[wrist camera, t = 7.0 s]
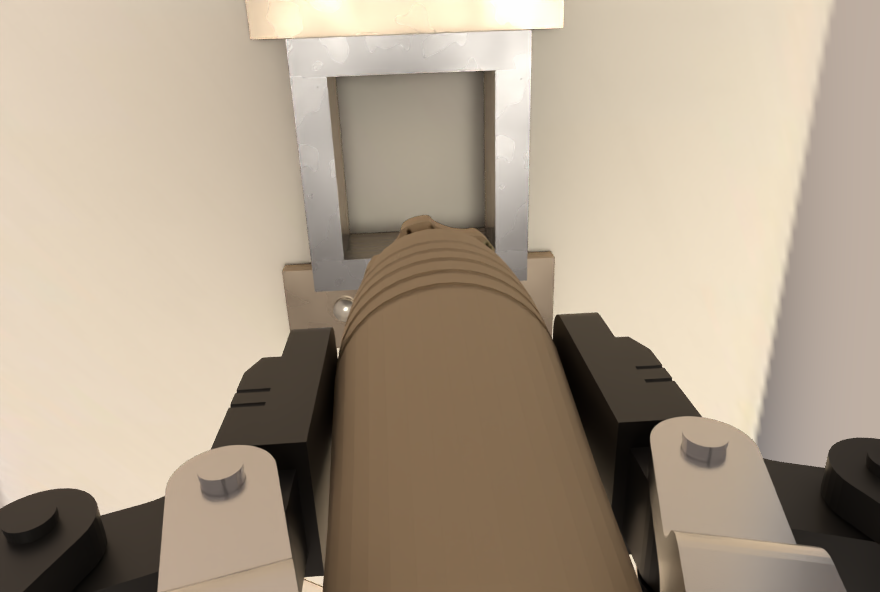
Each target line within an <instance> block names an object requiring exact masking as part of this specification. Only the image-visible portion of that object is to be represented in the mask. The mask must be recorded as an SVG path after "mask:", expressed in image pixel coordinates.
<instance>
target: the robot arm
mask: <svg viewBox="0 0 880 592" xmlns="http://www.w3.org/2000/svg"><path fill="white" fill-rule="evenodd" d="M553 342H554V344H555V346H556V348H557V351H558V354H559V357H560V360H561V363H562V366H563V369H564V372H565V375H566V378H567V381H568V384H569V387H570V390H571V393H572V396H573V399H574V402H575V404H576V407H577V410H578V413H579V416H580V419H581V422H582V425H583V428H584V431H585V434H586V437H587V440H588V443H589V446H590V449H591V452H592V455H593V458H594V461H595V464H596V467H597V470H598V473H599V476H600V478H601V481H602V484H603V486H604V489H605V492H606V494H607V497H608V500H609V503H610V505H611V508H612V511H613V513H614V516H615V519H616V521H617V524H618V527H619V530H620V532H621V535H622V538H623V540H624V543H625V546H626V548H627V551H628V554H632V557H633V559H634V561H635V563H636V572H635V573H636V575H637V578H638V581H639V583H640V586H641V589H642V592H880V439H874V438H851V439H846V440H842V441H840V442H837V443H836V444H834V445H833V446H832V447H831V449H830V450H829V453H828V457H827V462H826V466H825V468H821V467H814V466H806V465H799V464H792V463H784V462H778V461H772V460H768V459H764V458H762V455H761V453H760V450H759V448H758V446H757V445H756V443H755V442H754V441H753V440H752V439H751V438H750V437H749V436H748V435H746V434H745V433H744V432H742V431H741V430H739V429H737V428H735V427H733V426H731V425H729V424H726V423H724V422H720V421H717V420H714V419H709V418H703V417H702V416H701V415H700V414H699V412H698V411H697V410H696V408H695V407H694V406H693V405H692V403H691V402H690V401H689V399H688V398H687V397H686V395H685V394H684V393H683V392H682V390H681V389H680V388H679V386H678V385H677V384H676V382H675V381H672V377H671V376H670V375H669V373H668V372H667V371H666V369H665V368H662V364H661V363H660V362H659V360H658V359H657V358H656V356H655V355H654V354H653V353H652V351H651V350H650V349H649V348H647V347H645V346H643V345H642V344H640V343H638V342H637V341H635V340H633V339H631V338H630V337H616V338H615V336H614V335H613V334H612V332H611V331H610V329H609V328H608V326H607V325H606V323H605V322H604V320H603V319H602V318H601V316H600V315H599V314H598V313H579V314H561V315H556V317H555V320H554V327H553ZM337 362H338V357H337V348H336V339H335V333H334V329H333V327H326V328H309V329H292V330H291V331H290V334H289V337H288V340H287V343H286V346H285V348H284V351H283V354H282V357H267V358H262V359H260V360H259V361H258V362H257V363H256V364H254V365H253V366H252V367H251V368H250V369H248V370H247V371H246V372H245V373H244V375H243V377H242V379H241V381H240V384H239V386H238V388H237V393H235V395H234V397H233V400H232V402H231V408H229V409H228V411H227V413H226V416H225V418H224V420H223V423H222V425H221V427H220V429H219V432H218V434H217V436H216V439H215V441H214V443H213V445H212V448H211V450H209V451H206V452H203V453H201V454H199V455H197V456H195V457H193V458H191V459H190V460H188V461H186V462H185V463H184V464H182V465H181V466H180V467H179V468H178V469H177V470H176V471H175V472H174V473H173V474H172V476H171V477H170V479H169V481H168V483H167V486H166V492H165V496H164V497H162V498H159V499H157V500H154V501H151V502H148V503H145V504H141V505H138V506H134V507H131V508H127V509H123V510H120V511H116V512H112V513H109V514H105V515H102V516H100V513H99V509H98V506H97V503H96V501H95V499H94V498H93V497H92V496H91V495H90V494H89V493H87V492H85V491H82V490H78V489H69V488H66V489H53V490H47V491H43V492H38V493H35V494H32V495H29V496H26V497H24V498H21V499H18V500H16V501H14V502H12V503H10V504H8V505H6V506H4V507H3V508H1V509H0V592H302V588H303V582H304V577H312V576H324V567H325V554H326V541H327V528H328V509H329V487H330V466H331V445H332V424H333V402H334V385H335V376H336V368H337Z"/></svg>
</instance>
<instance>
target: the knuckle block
mask: <svg viewBox="0 0 880 592" xmlns="http://www.w3.org/2000/svg"><path fill="white" fill-rule="evenodd" d="M245 2H246V9H247V17H248V24H249V31H250V39H277V38H291V39H285V41H286V49H287V58H288V67H289V75H290V84H291V92H292V101H293V109H294V118H295V126H296V135H297V144H298V152H299V161H300V169H301V178H302V186H303V195H304V203H305V212H306V221H307V229H308V238H309V246H310V255H311V263H312V264H295V265H285V267H284V269H283V271H282V274H283V281H284V289H285V296H286V303H287V311H288V318H289V325H290V331H291V330H292V329H309V328H326V327H333V329H334V333H335V339H336V348H340V345H341V340H342V336H343V332H344V328H345V325H346V321H347V318H348V315H349V312H350V309H351V306H352V303H353V301H354V297H355V295H356V293H357V291H358V289H359V287H360V284H361V282H362V280H363V278H364V274H365V270H366V268H367V265H368V263H369V261H370V260H371V259H372V257H373V256H375V255H378V254H380V253H382V251H383V250H384V249H385V248H387V247H388V246H389V245H391V244H392V243H393V242H394V241H395V240H396V238H397V237H398V235H399V233H400V232H383V233H363V234H350V229H349V218H348V207H347V196H346V185H345V174H344V163H343V151H342V140H341V129H340V118H339V107H338V96H337V85H336V77H338V76H363V75H388V74H413V73H438V72H463V71H484V169H485V227H483V228H475V229H477V230H478V231H480V232H481V233H482V234H483V235H484V236H485V237H486V238H487V239H488V241H489V242H490V243H491V244H492V246H493V247H494V248H495V253H496V254H497V255H498V256H499V257H500V258H501V259H502V260H503V261H504V262H505V263H506V264H507V265H508V267H509V268H510V269H511V270H512V271H513V273H514V274H515V275H516V277H517V278H518V279H519V281H520V282H521V283H522V285H523V286H524V288H525V289H526V290H527V292H528V293H529V295H530V296H531V298H532V300H533V302H534V303H535V305H536V307H537V309H538V311H539V312H540V314H541V316H542V318H543V320H544V322H545V324H546V327H547V328H548V330H549V333H550V335H551V336H552V320H553V292H554V265H555V257H554V256H553V254H552V253H551V251H546V252H528V204H529V152H530V101H531V49H532V30H520V29H545V28H563V18H564V0H245ZM463 229H468V228H463Z"/></svg>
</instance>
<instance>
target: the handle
mask: <svg viewBox="0 0 880 592" xmlns="http://www.w3.org/2000/svg"><path fill="white" fill-rule="evenodd" d="M323 592H642V589H641V586H640V583H639V581H638V578H637V575H636V573H635V570H634V567H633V565H632V562H631V559H630V556H629V554H628V551H627V548H626V546H625V543H624V540H623V538H622V535H621V532H620V530H619V527H618V524H617V521H616V519H615V516H614V513H613V511H612V508H611V505H610V503H609V500H608V497H607V494H606V492H605V489H604V486H603V484H602V481H601V478H600V476H599V473H598V470H597V467H596V464H595V461H594V458H593V455H592V452H591V449H590V446H589V443H588V440H587V437H586V434H585V431H584V428H583V425H582V422H581V419H580V416H579V413H578V410H577V407H576V404H575V402H574V399H573V396H572V393H571V390H570V387H569V384H568V381H567V378H566V375H565V372H564V369H563V366H562V363H561V360H560V357H559V354H558V351H557V348H556V346H555V344H554V342H553V339H552V337H551V335H550V333H549V330H548V328H547V327H546V324H545V322H544V320H543V318H542V316H541V314H540V312H539V311H538V309H537V307H536V305H535V303H534V302H533V300H532V298H531V296H530V295H529V293H528V292H527V290H526V289H525V288H524V286H523V285H522V283H521V282H520V281H519V279H518V278H517V277H516V275H515V274H514V273H513V271H512V270H511V269H510V268H509V267H508V265H507V264H506V263H505V262H504V261H503V260H502V259H501V258H500V257H499V256H498V255H497V254H496V253H495V248H494V247H493V246H492V244H491V243H490V242H489V241H488V239H487V238H486V237H485V236H484V235H483V234H482V233H481V232H480V231H478V230H477V229H475V228H468V229H458V228H451V227H448V226H445V225H442V224H439V223H437V222H436V221H434V220H433V219H432V218H431V217H430V216H428V215H421V216H416V217H413V218H411V219H408V220H407V221H405V222H404V223H403V224H402V227H401V231H400V233H399V235H398V237H397V238H396V240H395V241H394V242H393V243H392V244H391V245H389V246H388V247H387V248H385V249H384V250H383V251H382V253H380V254H378V255H375V256H373V257H372V259H371V260H370V261H369V263H368V265H367V268H366V270H365V274H364V278H363V280H362V282H361V284H360V287H359V289H358V291H357V293H356V295H355V297H354V301H353V303H352V306H351V309H350V312H349V315H348V318H347V321H346V325H345V328H344V332H343V336H342V340H341V345H340V350H339V357H338V362H337V368H336V376H335V385H334V402H333V424H332V445H331V466H330V487H329V509H328V528H327V541H326V554H325V567H324V581H323Z"/></svg>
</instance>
